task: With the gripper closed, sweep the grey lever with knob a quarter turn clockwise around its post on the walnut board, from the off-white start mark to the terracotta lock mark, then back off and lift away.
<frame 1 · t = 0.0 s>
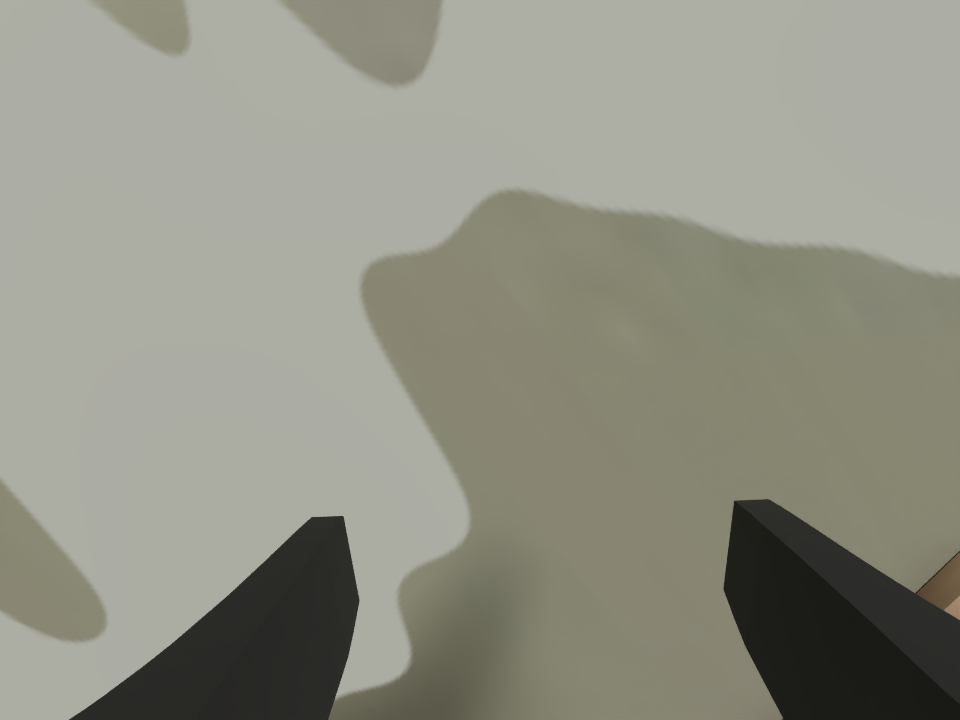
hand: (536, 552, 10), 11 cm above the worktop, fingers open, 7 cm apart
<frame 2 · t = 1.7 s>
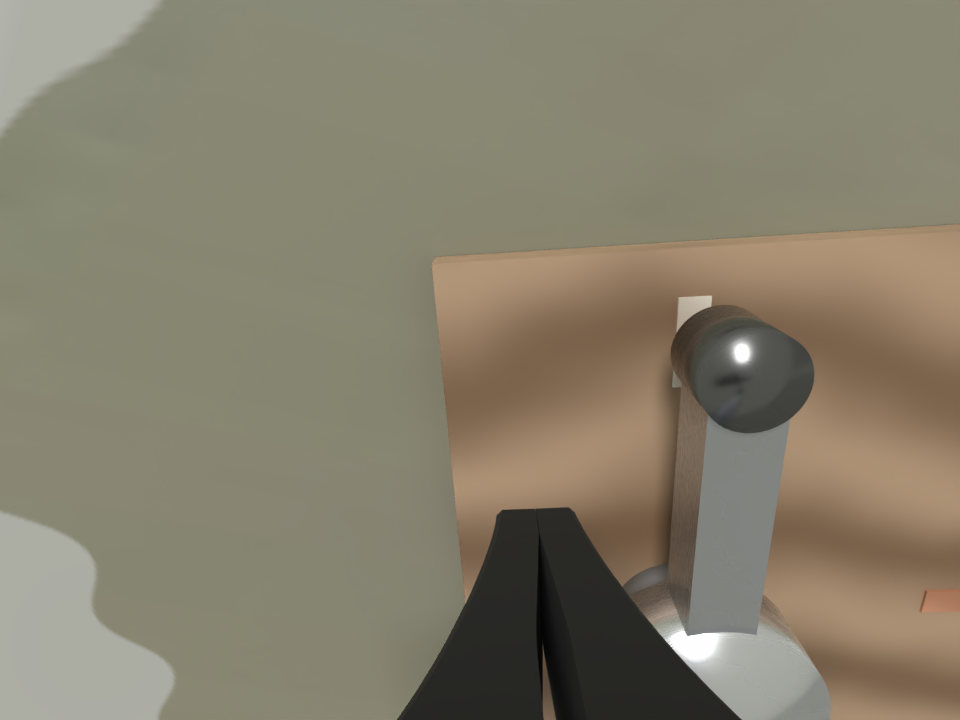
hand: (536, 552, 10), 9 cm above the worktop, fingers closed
grey lever with knob: (712, 576, 16), point 4 cm above the worktop, hinge at 0.0°
post board: (661, 585, 22), on the worktop
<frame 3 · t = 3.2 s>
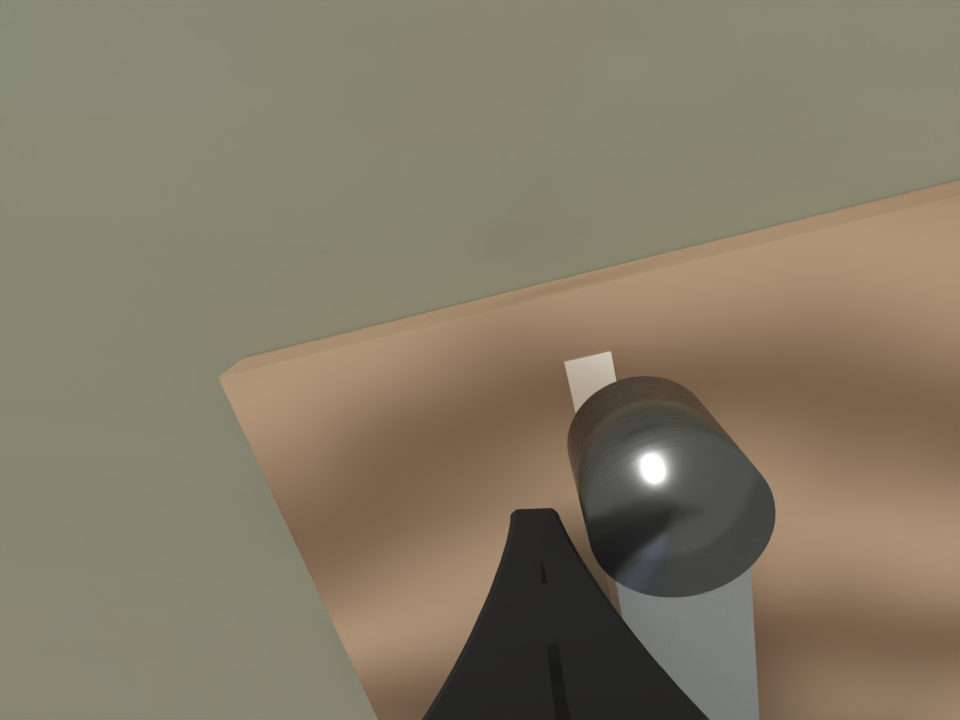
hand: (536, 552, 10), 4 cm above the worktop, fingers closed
post board: (654, 704, 17), on the worktop
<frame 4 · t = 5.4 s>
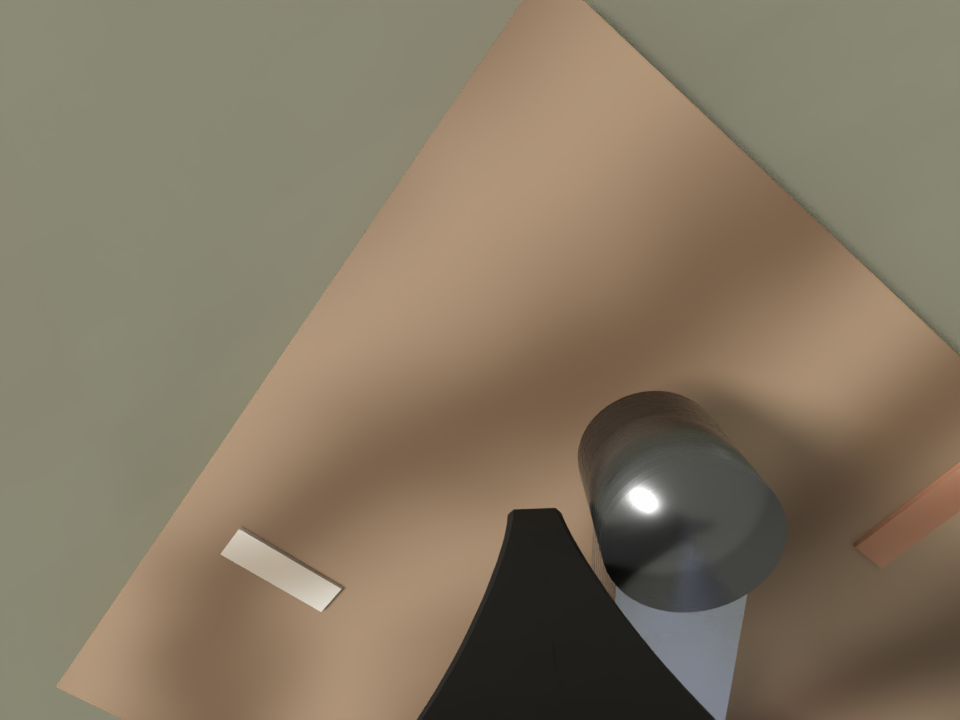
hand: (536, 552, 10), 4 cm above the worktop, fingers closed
post board: (595, 715, 17), on the worktop
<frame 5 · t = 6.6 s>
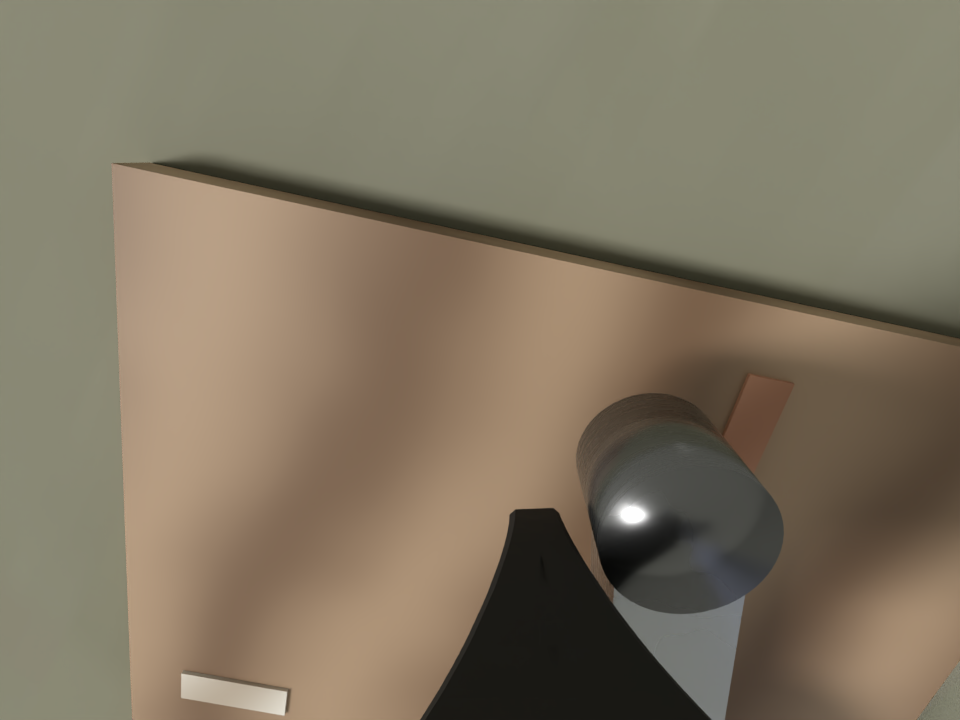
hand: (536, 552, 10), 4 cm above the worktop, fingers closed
post board: (597, 716, 17), on the worktop
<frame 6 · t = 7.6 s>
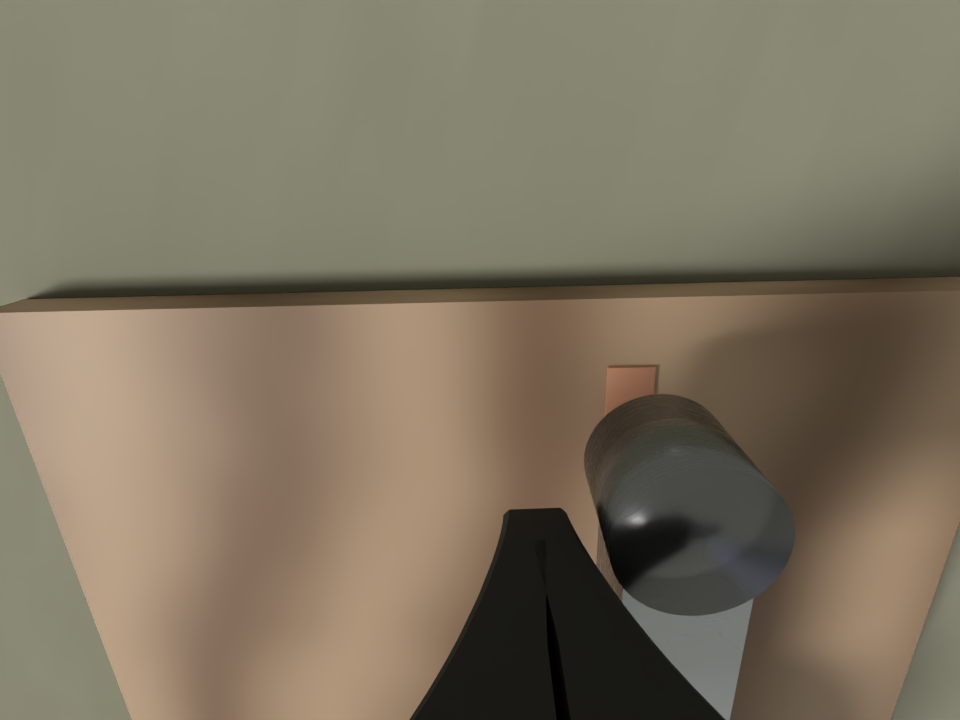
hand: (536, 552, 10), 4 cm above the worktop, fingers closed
post board: (595, 716, 17), on the worktop
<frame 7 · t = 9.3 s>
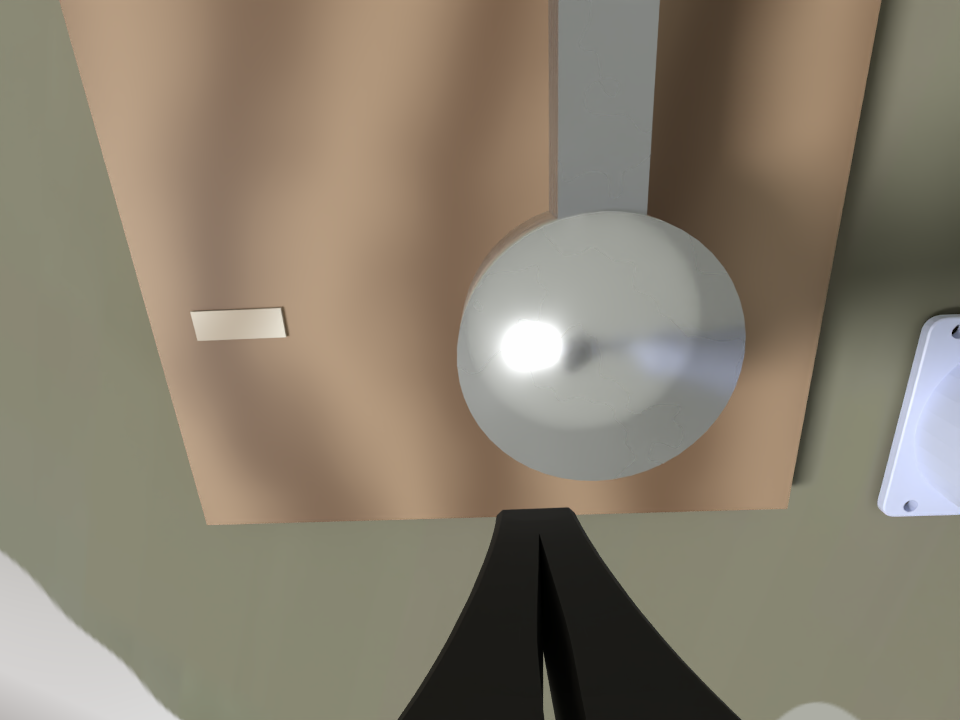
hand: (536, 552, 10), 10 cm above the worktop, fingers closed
grey lever with knob: (595, 156, 13), point 5 cm above the worktop, hinge at 90.0°
post board: (568, 300, 18), on the worktop
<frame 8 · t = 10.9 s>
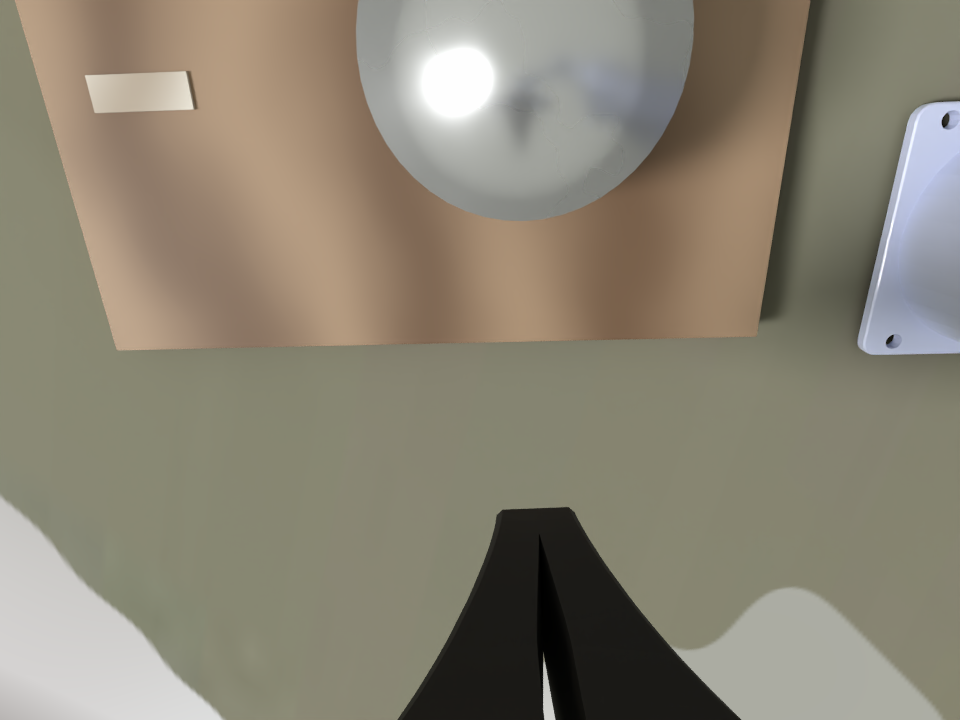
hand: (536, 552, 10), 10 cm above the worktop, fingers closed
post board: (514, 83, 16), on the worktop
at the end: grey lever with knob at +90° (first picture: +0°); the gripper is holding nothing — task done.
